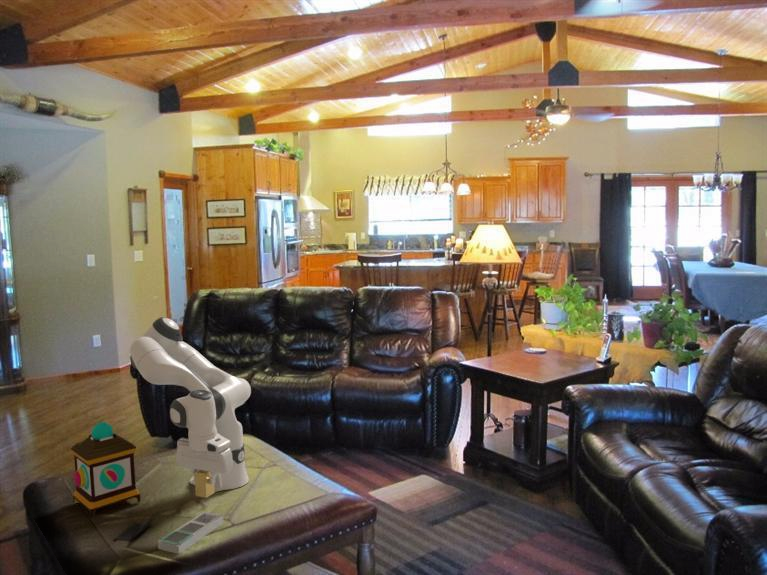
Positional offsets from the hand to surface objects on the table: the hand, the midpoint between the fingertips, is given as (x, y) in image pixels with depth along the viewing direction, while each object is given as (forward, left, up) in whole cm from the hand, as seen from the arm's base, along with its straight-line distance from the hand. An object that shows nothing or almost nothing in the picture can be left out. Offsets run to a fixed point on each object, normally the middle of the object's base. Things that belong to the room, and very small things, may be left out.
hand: (204, 482), depth 202 cm
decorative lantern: (-45, +1, -16) cm, 48 cm away
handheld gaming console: (-18, -12, -16) cm, 27 cm away
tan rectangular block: (0, 0, -4) cm, 4 cm away
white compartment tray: (0, -7, -15) cm, 17 cm away
